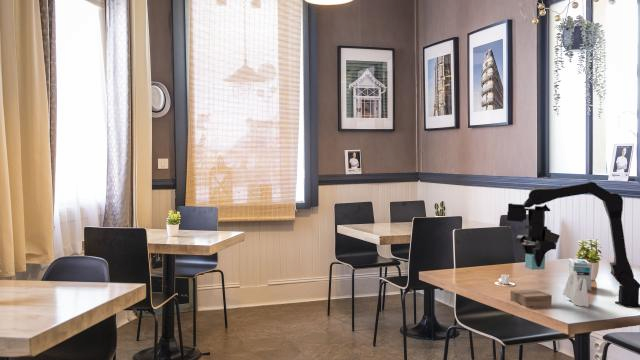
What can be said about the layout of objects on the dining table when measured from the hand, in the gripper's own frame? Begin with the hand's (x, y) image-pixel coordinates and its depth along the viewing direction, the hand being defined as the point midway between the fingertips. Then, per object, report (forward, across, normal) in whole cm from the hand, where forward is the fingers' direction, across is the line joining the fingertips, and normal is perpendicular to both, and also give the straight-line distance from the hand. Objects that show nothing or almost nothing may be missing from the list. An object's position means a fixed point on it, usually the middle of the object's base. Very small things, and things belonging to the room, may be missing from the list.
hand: (534, 265), depth 226 cm
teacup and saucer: (+13, +26, -4) cm, 29 cm away
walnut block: (+12, -7, +5) cm, 15 cm away
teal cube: (+1, 0, 0) cm, 1 cm away
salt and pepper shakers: (+12, -8, -11) cm, 19 cm away
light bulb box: (+12, +15, -28) cm, 34 cm away
